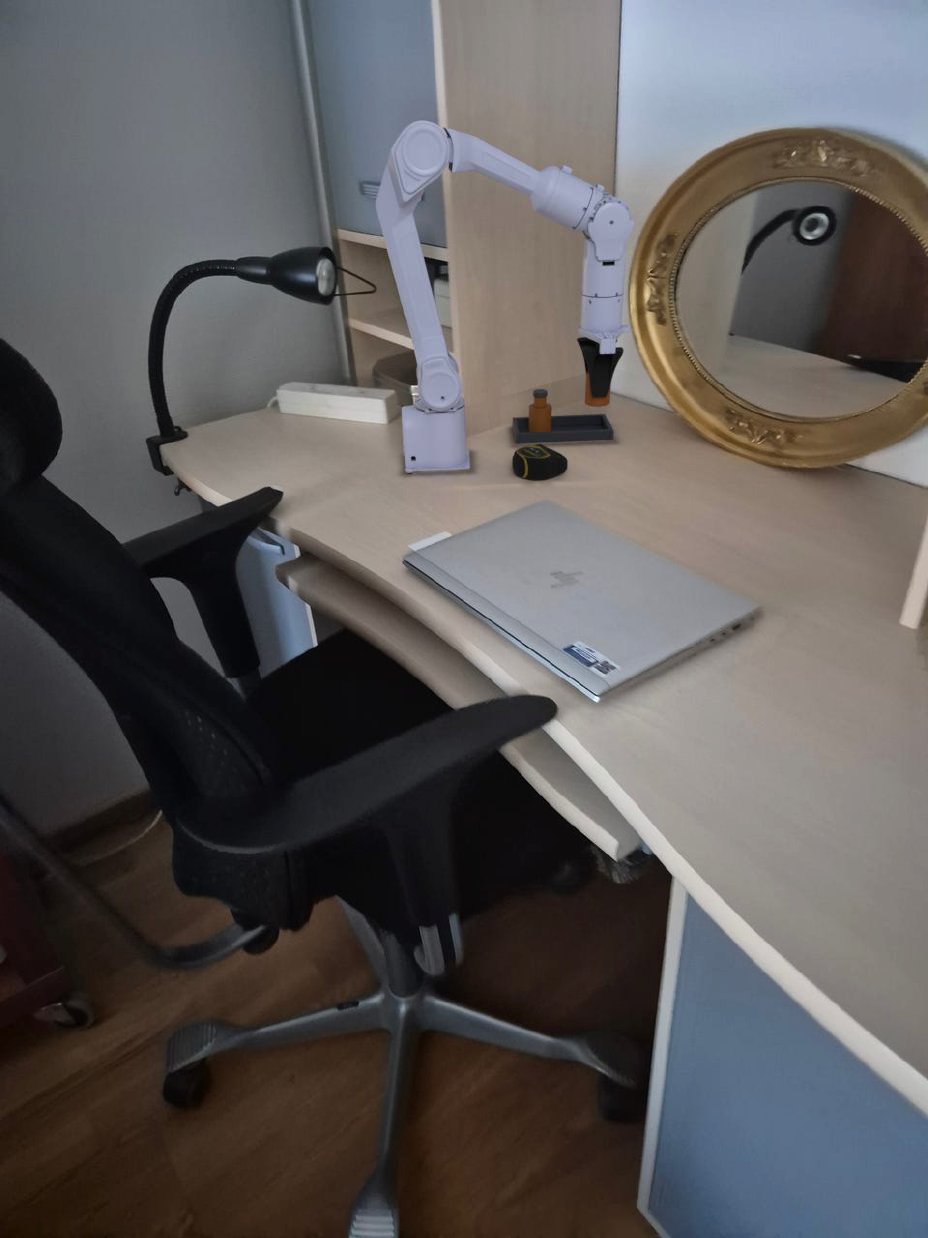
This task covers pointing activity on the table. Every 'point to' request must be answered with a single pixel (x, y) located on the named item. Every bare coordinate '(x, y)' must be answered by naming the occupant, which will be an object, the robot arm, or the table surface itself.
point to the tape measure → (538, 462)
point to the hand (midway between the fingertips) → (597, 392)
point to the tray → (565, 429)
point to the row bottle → (540, 412)
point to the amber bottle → (594, 400)
